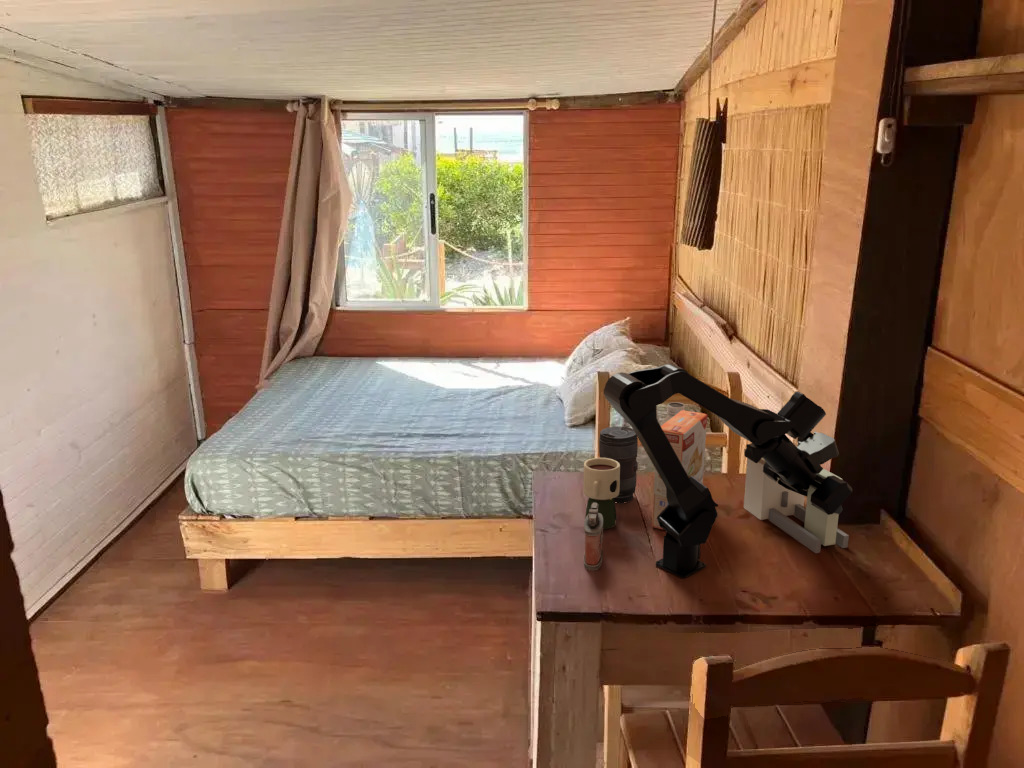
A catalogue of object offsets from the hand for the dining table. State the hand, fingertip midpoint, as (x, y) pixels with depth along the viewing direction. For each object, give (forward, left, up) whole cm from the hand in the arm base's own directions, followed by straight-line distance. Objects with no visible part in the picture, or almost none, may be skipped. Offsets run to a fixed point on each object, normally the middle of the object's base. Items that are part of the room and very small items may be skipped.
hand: (828, 504), depth 145 cm
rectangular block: (-1, +1, -7) cm, 7 cm away
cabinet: (+2, +7, -7) cm, 11 cm away
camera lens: (-15, +40, -8) cm, 43 cm away
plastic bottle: (-4, +34, -8) cm, 35 cm away
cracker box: (-13, +25, -8) cm, 29 cm away
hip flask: (-38, +24, -8) cm, 46 cm away
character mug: (-27, +33, -8) cm, 43 cm away
